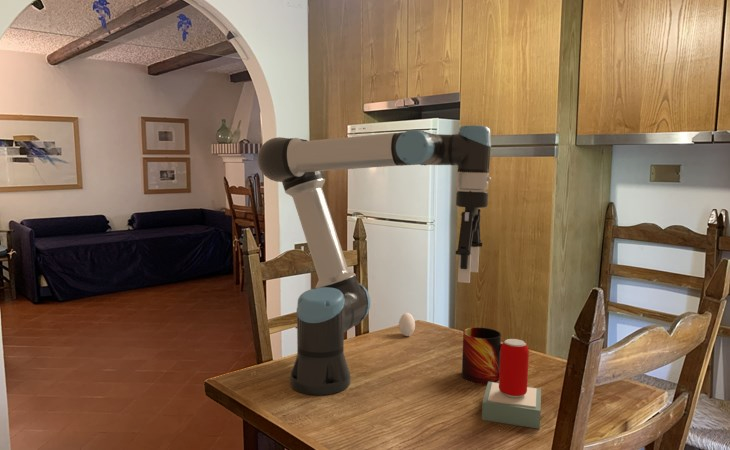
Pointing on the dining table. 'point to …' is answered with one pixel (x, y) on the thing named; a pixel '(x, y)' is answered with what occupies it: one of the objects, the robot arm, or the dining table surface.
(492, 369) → the mug
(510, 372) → the beverage can
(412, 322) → the egg
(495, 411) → the base
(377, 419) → the dining table surface
